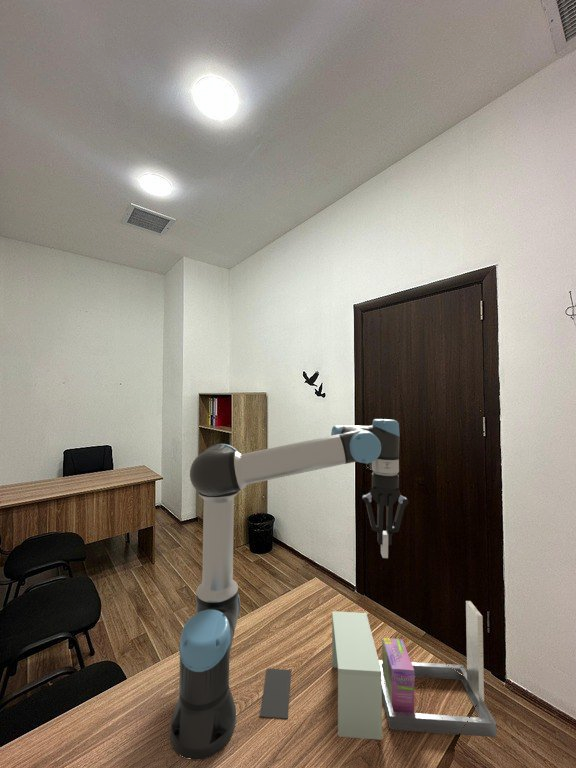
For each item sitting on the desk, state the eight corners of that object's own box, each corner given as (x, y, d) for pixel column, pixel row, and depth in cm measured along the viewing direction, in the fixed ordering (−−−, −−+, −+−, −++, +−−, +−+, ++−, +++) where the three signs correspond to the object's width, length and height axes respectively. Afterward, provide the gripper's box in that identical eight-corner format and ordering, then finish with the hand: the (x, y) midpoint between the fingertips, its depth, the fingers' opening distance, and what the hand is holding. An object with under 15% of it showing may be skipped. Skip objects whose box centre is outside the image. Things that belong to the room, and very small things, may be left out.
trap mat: (259, 717, 79) (259, 716, 79) (267, 669, 93) (267, 668, 93) (287, 719, 79) (287, 718, 79) (291, 670, 93) (291, 669, 93)
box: (415, 719, 79) (414, 669, 79) (391, 718, 79) (391, 668, 80) (402, 682, 89) (402, 638, 90) (382, 681, 90) (381, 637, 90)
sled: (390, 730, 76) (389, 625, 77) (375, 671, 92) (375, 585, 93) (496, 738, 74) (494, 631, 75) (462, 676, 91) (461, 589, 92)
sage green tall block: (338, 736, 75) (338, 668, 75) (332, 664, 95) (332, 611, 96) (382, 739, 74) (381, 671, 75) (366, 666, 94) (366, 612, 95)
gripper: (364, 474, 90) (363, 560, 89) (412, 476, 89) (411, 564, 88) (360, 468, 97) (359, 548, 97) (404, 470, 96) (404, 551, 95)
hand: (384, 555), depth 92 cm, fingers closed
